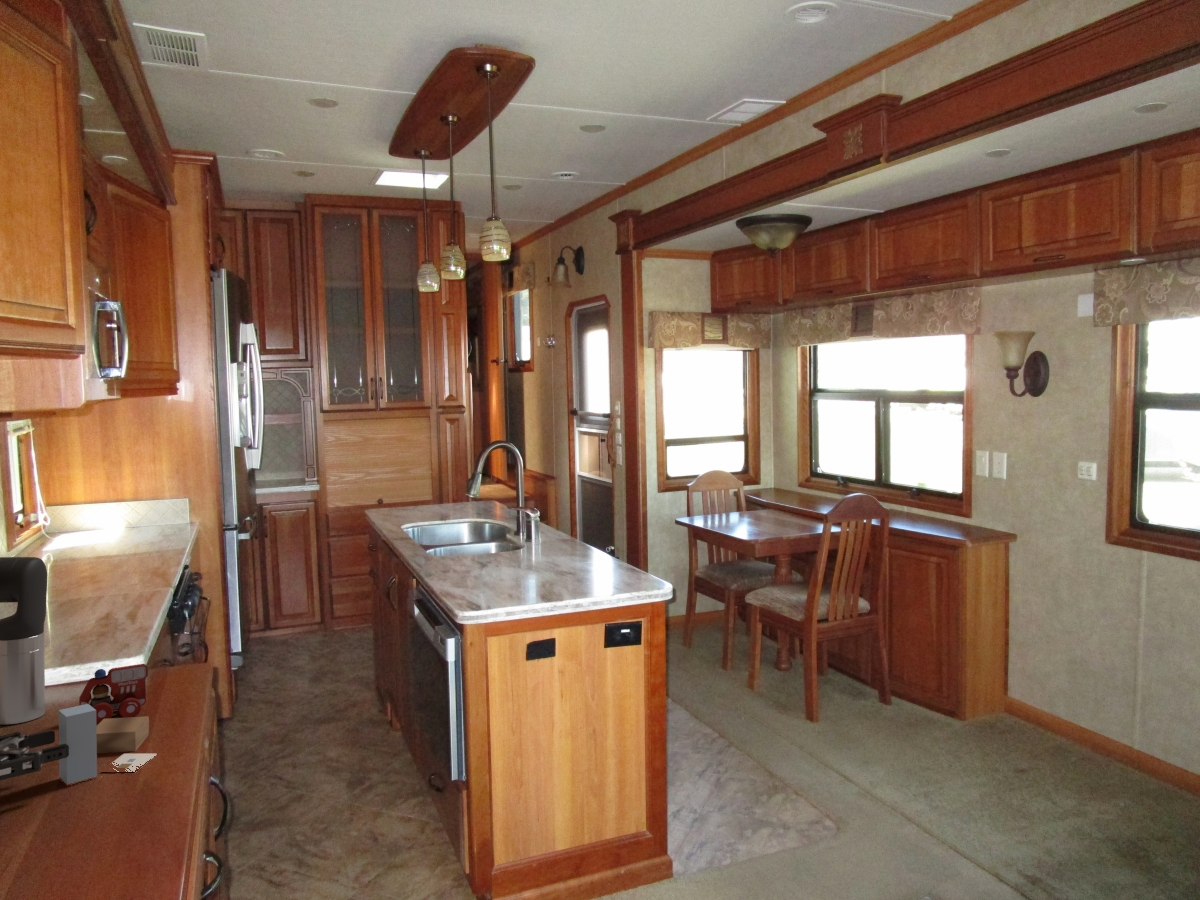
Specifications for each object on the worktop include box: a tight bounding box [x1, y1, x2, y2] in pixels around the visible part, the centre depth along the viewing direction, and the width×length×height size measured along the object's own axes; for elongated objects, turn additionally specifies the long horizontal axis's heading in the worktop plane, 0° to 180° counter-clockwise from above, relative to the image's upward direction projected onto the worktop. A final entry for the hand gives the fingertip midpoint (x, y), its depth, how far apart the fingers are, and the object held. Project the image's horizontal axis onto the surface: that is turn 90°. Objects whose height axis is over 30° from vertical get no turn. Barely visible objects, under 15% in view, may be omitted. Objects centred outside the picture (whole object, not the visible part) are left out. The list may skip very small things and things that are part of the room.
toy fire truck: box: [78, 663, 149, 724], centre depth 173 cm, size 7×12×10 cm, turn 122°
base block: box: [96, 715, 150, 754], centre depth 159 cm, size 8×8×4 cm
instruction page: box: [111, 753, 157, 773], centre depth 150 cm, size 6×8×1 cm
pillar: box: [58, 703, 98, 784], centre depth 144 cm, size 4×4×12 cm
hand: (61, 742), depth 142 cm, fingers open, 8 cm apart
